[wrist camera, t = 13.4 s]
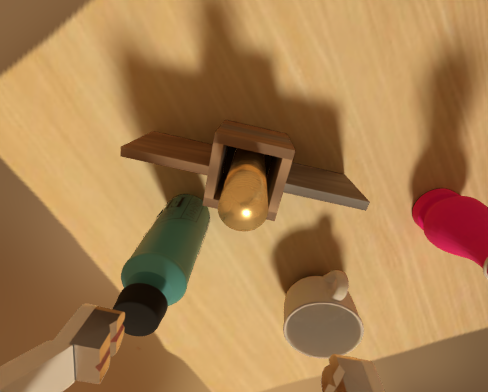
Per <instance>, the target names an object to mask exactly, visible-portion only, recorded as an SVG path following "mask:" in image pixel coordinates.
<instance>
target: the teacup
mask: <svg viewBox="0 0 488 392" xmlns="http://www.w3.org/2000/svg"><path fill="white" fill-rule="evenodd" d="M283 330H284V336H285V338H286V340H287V342H288V343H289V344H290V345H291V346H292V347H293V348H294V349H295V350H297V351H298V352H300V353H302V354H305V355H307V356H309V357H315V358H330V356H331V355H332V354H338V355H344V354H347V353H349V352H351V351H352V350H353V349H355V348H356V347H357V346H358V345H359V344H360V342H361V340H362V337H363V334H364V327H363V323H362V321H361V319H360V317H359V315H358V312H357V310H356V307H355V304H354V302H353V300H352V298H351V296H350V294H349V292H348V278H347V275H346V274H345V273H344V272H342V271H339V270H332V271H330V272H329V273H328V274H325V275H324V276H309V277H305V278H303V279H300V280H299V281H297V282H296V283H294V284H293V285H292V286H291V287H290V289H289V290H288V292H287V294H286V297H285V303H284V328H283Z"/></svg>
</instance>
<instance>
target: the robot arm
mask: <svg viewBox="0 0 488 392" xmlns="http://www.w3.org/2000/svg"><path fill="white" fill-rule="evenodd" d="M124 319H125V312H122V311H118V310H113V309H109V308H105V307H101V306H95V305H91V304H86V303H84V304H83V305H81V306H80V307H79V308H78V310H77V311H76V312H75V314H74V315H73V316H72V317H71V319H70V320H69V321H68V322H67V324H66V325H65V326H64V327H63V329H62V330H61V331H60V332H59V334H58V335H57V336H56V337H55V339H54V340H53V341H49V340H48V341H46V342H44V343H43V344H41V345H39V346H37V347H35V348H33V349H32V350H30V351H28V352H26V353H24V354H22V355H21V356H19V357H17V358H15V359H13V360H11V361H10V362H8V363H6V364H4V365H2V366H0V392H63V391H64V390H65V389H67V388H68V387H69V386H70V385H71V384H73V383H74V382H75V380H76V381H83V382H89V383H95V384H100V383H101V381H102V379H103V377H104V375H105V373H106V371H107V370H108V368H109V366H110V357H112V356H113V355H115V354H116V352H117V350H118V349H119V347H120V344H121V341H122V339H123V334H124V326H123V324H122V323H123V321H124ZM329 363H330V365H328V366H326V367H325V368H324V370H323V372H322V379H321V384H322V391H323V392H385V390H384V387H383V385H382V383H381V380H380V377H379V375H378V373H377V370H376V368H375V365H374V364H373V362H372V361H367V360H362V359H358V358H354V357H348V356H343V355H338V354H332V355H331V356H330V358H329Z"/></svg>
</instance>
